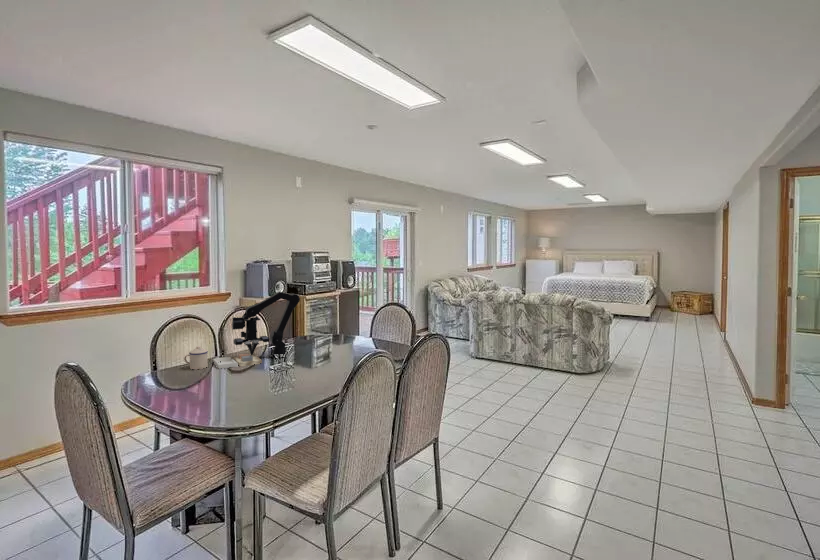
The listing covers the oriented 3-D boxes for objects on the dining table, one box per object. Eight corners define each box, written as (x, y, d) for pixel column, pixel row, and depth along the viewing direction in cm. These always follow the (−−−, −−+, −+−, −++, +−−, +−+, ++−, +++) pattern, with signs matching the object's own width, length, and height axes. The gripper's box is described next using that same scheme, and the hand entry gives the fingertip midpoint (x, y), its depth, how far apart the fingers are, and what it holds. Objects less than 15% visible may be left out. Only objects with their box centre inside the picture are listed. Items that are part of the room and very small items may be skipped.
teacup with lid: (210, 365, 239) (210, 344, 238) (204, 370, 230) (203, 348, 229) (188, 365, 238) (187, 344, 237) (180, 370, 228) (180, 348, 228)
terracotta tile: (247, 356, 252) (247, 352, 252) (249, 357, 248) (249, 354, 248) (238, 357, 249) (238, 353, 249) (240, 359, 245) (240, 355, 245)
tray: (232, 360, 249) (231, 356, 249) (238, 366, 236) (238, 362, 236) (213, 363, 244) (213, 358, 244) (218, 369, 231) (218, 364, 230)
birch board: (254, 357, 256) (254, 354, 256) (261, 363, 243) (261, 360, 243) (232, 360, 250) (232, 357, 250) (239, 366, 236) (239, 363, 236)
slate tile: (250, 358, 246) (250, 355, 246) (252, 360, 242) (252, 357, 242) (241, 359, 243) (241, 356, 243) (243, 361, 239) (243, 358, 239)
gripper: (264, 325, 262) (264, 350, 263) (231, 327, 252) (231, 354, 252) (269, 327, 253) (269, 354, 254) (235, 330, 242) (235, 358, 243)
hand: (251, 355), depth 251 cm, fingers closed
